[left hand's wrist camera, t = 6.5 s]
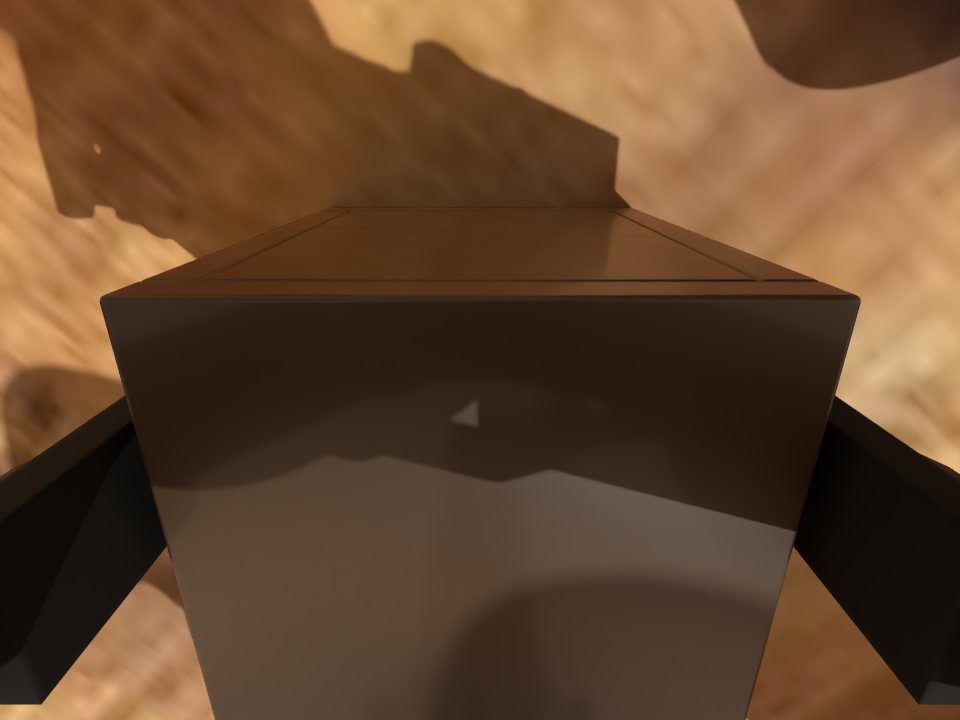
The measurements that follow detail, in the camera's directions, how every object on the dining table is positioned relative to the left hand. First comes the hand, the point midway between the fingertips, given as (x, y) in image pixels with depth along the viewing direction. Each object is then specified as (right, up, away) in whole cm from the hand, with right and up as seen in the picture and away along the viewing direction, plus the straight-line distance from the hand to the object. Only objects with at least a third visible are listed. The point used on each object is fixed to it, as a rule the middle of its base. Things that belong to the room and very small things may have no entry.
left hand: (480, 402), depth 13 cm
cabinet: (0, -4, +10) cm, 10 cm away
